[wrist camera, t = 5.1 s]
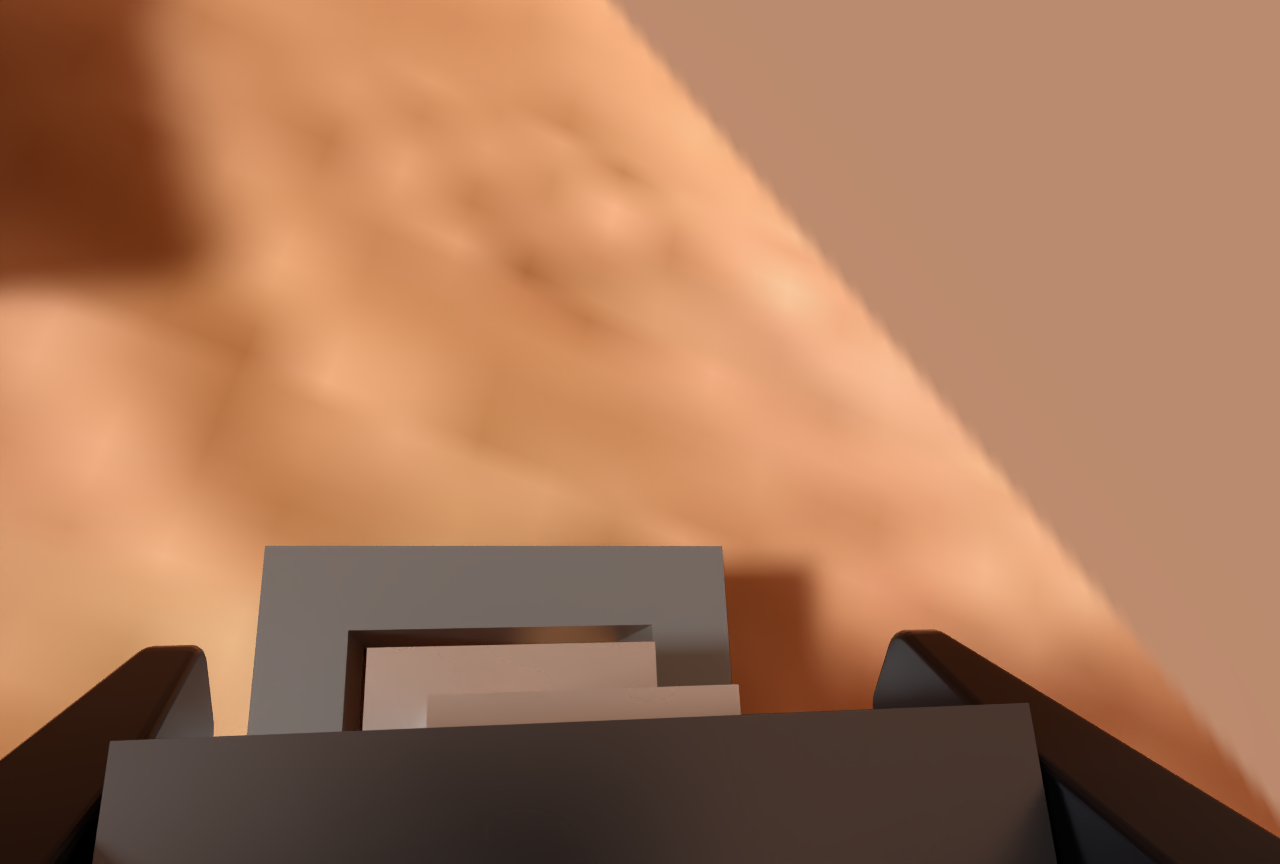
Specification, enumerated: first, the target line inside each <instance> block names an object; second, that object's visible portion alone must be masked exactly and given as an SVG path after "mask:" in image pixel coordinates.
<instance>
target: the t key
mask: <svg viewBox="0 0 1280 864" xmlns="http://www.w3.org/2000/svg"><path fill="white" fill-rule="evenodd" d="M92 864H1057V860H1056V854H1055V849H1054V843H1053V837H1052V831H1051V826H1050V820H1049V814H1048V809H1047V803H1046V797H1045V792H1044V786H1043V780H1042V775H1041V769H1040V763H1039V758H1038V752H1037V746H1036V741H1035V735H1034V729H1033V724H1032V718H1031V712H1030V707H1029V703H1012V704H988V705H964V706H940V707H916V708H892V709H868V710H844V711H820V712H796V713H772V714H748V715H741V709H740V696H739V684H731V685H702V686H672V687H657V672H656V650H655V642H612V643H567V644H521V645H476V646H430V647H384V648H367V659H366V676H365V694H364V711H363V728H362V731H340V732H316V733H292V734H268V735H244V736H220V737H196V738H172V739H148V740H124V741H110V745H109V752H108V759H107V766H106V772H105V779H104V786H103V793H102V800H101V807H100V814H99V821H98V828H97V834H96V841H95V848H94V855H93V862H92Z"/></svg>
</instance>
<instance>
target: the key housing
mask: <svg viewBox="0 0 1280 864" xmlns="http://www.w3.org/2000/svg"><path fill="white" fill-rule="evenodd" d="M596 642H655V650H656V672H657V687H672V686H702V685H731V684H732V678H731V665H730V651H729V637H728V623H727V609H726V596H725V582H724V568H723V554H722V546H265V554H264V564H263V575H262V585H261V595H260V606H259V616H258V627H257V637H256V648H255V658H254V669H253V679H252V690H251V700H250V711H249V721H248V732H247V735H268V734H292V733H316V732H340V731H359V723H360V705H361V688H362V670H363V653H364V648H382V647H425V646H468V645H510V644H553V643H596Z"/></svg>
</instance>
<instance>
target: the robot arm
mask: <svg viewBox="0 0 1280 864" xmlns="http://www.w3.org/2000/svg"><path fill="white" fill-rule="evenodd" d="M1012 703H1029V707H1030V712H1031V718H1032V724H1033V729H1034V735H1035V741H1036V746H1037V752H1038V758H1039V763H1040V769H1041V775H1042V780H1043V786H1044V792H1045V797H1046V803H1047V809H1048V814H1049V820H1050V826H1051V831H1052V837H1053V843H1054V849H1055V854H1056V860H1057V864H1280V838H1278V837H1277V836H1275V835H1274V834H1272V833H1270V832H1269V831H1267V830H1265V829H1264V828H1262V827H1260V826H1259V825H1257V824H1256V823H1254V822H1252V821H1251V820H1249V819H1247V818H1246V817H1244V816H1242V815H1241V814H1239V813H1238V812H1236V811H1234V810H1233V809H1231V808H1229V807H1228V806H1226V805H1224V804H1223V803H1221V802H1220V801H1218V800H1216V799H1215V798H1213V797H1211V796H1210V795H1208V794H1206V793H1205V792H1203V791H1202V790H1200V789H1198V788H1197V787H1195V786H1193V785H1192V784H1190V783H1188V782H1187V781H1185V780H1184V779H1182V778H1180V777H1179V776H1177V775H1175V774H1174V773H1172V772H1170V771H1169V770H1167V769H1165V768H1164V767H1162V766H1161V765H1159V764H1157V763H1156V762H1154V761H1152V760H1151V759H1149V758H1147V757H1146V756H1144V755H1143V754H1141V753H1139V752H1138V751H1136V750H1134V749H1133V748H1131V747H1129V746H1128V745H1126V744H1125V743H1123V742H1121V741H1120V740H1118V739H1116V738H1115V737H1113V736H1111V735H1110V734H1108V733H1107V732H1105V731H1103V730H1102V729H1100V728H1098V727H1097V726H1095V725H1093V724H1092V723H1090V722H1089V721H1087V720H1085V719H1084V718H1082V717H1080V716H1079V715H1077V714H1075V713H1074V712H1072V711H1071V710H1069V709H1067V708H1066V707H1064V706H1062V705H1061V704H1059V703H1057V702H1056V701H1054V700H1053V699H1051V698H1049V697H1048V696H1046V695H1044V694H1043V693H1041V692H1039V691H1038V690H1036V689H1035V688H1033V687H1031V686H1030V685H1028V684H1026V683H1025V682H1023V681H1021V680H1020V679H1018V678H1017V677H1015V676H1013V675H1012V674H1010V673H1008V672H1007V671H1005V670H1003V669H1002V668H1000V667H999V666H997V665H995V664H994V663H992V662H990V661H989V660H987V659H985V658H984V657H982V656H981V655H979V654H977V653H976V652H974V651H972V650H971V649H969V648H968V647H966V646H964V645H963V644H961V643H959V642H958V641H956V640H954V639H953V638H951V637H950V636H948V635H946V634H945V633H943V632H941V631H938V630H903V631H900V632H898V633H896V634H895V635H894V636H893V638H892V639H891V641H890V644H889V647H888V650H887V653H886V656H885V660H884V663H883V666H882V669H881V673H880V676H879V679H878V682H877V686H876V689H875V692H874V697H873V709H892V708H916V707H940V706H964V705H988V704H1012ZM213 733H214V722H213V712H212V704H211V695H210V686H209V678H208V669H207V661H206V657H205V654H204V652H203V650H202V649H201V648H199V647H197V646H195V645H178V646H152V647H147V648H145V649H143V650H141V651H139V652H138V653H137V654H135V655H134V656H133V657H131V658H130V659H129V660H128V661H126V662H125V663H124V664H122V665H121V666H120V667H119V668H117V669H116V670H115V671H114V672H112V673H111V674H110V675H108V676H107V677H106V678H105V679H103V680H102V681H101V682H99V683H98V684H97V685H96V686H94V687H93V688H92V689H90V690H89V691H88V692H87V693H85V694H84V695H83V696H82V697H80V698H79V699H78V700H76V701H75V702H74V703H73V704H71V705H70V706H69V707H67V708H66V709H65V710H64V711H62V712H61V713H60V714H58V715H57V716H56V717H55V718H53V719H52V720H51V721H50V722H48V723H47V724H46V725H44V726H43V727H42V728H41V729H39V730H38V731H37V732H35V733H34V734H33V735H32V736H30V737H29V738H28V739H26V740H25V741H24V742H23V743H21V744H20V745H19V746H18V747H16V748H15V749H14V750H12V751H11V752H10V753H9V754H7V755H6V756H5V757H3V758H2V759H1V760H0V864H92V862H93V855H94V848H95V841H96V834H97V828H98V821H99V814H100V807H101V800H102V793H103V786H104V779H105V772H106V766H107V759H108V752H109V745H110V741H124V740H148V739H172V738H196V737H213Z"/></svg>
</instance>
